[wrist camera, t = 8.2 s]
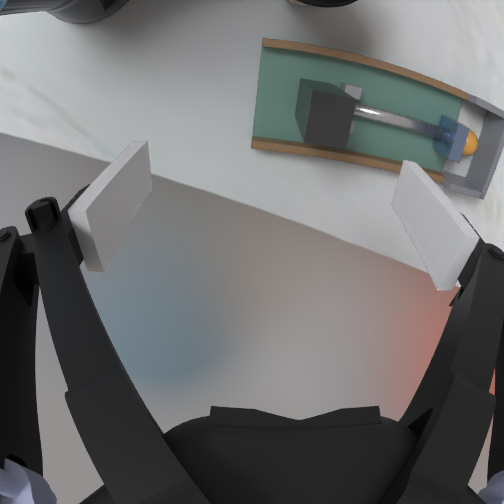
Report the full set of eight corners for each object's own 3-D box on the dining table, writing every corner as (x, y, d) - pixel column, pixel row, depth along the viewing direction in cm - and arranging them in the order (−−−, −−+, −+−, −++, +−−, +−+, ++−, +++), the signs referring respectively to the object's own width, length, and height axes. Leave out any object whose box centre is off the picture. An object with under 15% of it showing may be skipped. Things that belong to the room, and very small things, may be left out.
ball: (485, 136, 32) (464, 125, 35) (474, 133, 31) (452, 121, 33) (477, 160, 34) (457, 148, 37) (466, 159, 33) (445, 146, 36)
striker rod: (300, 78, 32) (312, 90, 24) (452, 118, 33) (498, 147, 24) (294, 116, 35) (304, 142, 27) (443, 150, 36) (484, 185, 27)
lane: (263, 38, 31) (262, 37, 28) (460, 90, 31) (473, 95, 28) (252, 141, 39) (250, 149, 36) (436, 175, 40) (446, 185, 37)
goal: (458, 89, 31) (477, 97, 27) (492, 106, 31) (512, 115, 27) (433, 174, 40) (448, 189, 36) (468, 184, 40) (483, 199, 36)
